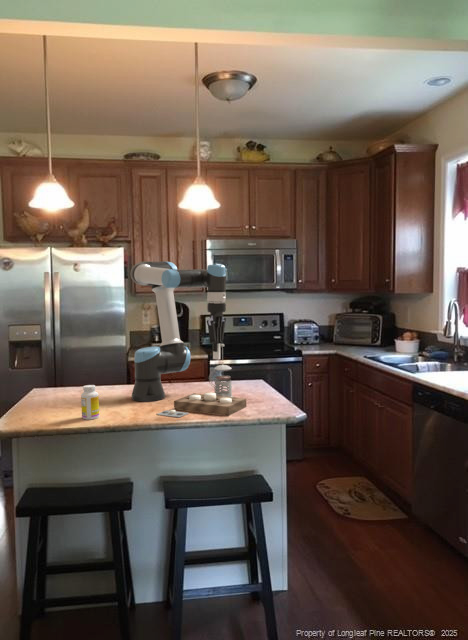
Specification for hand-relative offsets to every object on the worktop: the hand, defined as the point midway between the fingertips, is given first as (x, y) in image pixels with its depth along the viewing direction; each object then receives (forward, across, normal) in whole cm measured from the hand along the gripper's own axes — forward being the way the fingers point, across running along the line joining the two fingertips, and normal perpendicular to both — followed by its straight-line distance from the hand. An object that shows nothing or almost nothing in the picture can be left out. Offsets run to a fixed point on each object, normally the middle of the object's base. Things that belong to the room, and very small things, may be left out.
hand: (216, 359), depth 213 cm
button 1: (+20, +1, +11) cm, 23 cm away
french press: (+22, +20, +8) cm, 30 cm away
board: (+21, 0, +3) cm, 22 cm away
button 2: (+18, +1, +3) cm, 19 cm away
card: (+21, -14, +13) cm, 29 cm away
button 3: (+20, 0, -4) cm, 20 cm away
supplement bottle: (+22, -32, +40) cm, 56 cm away
